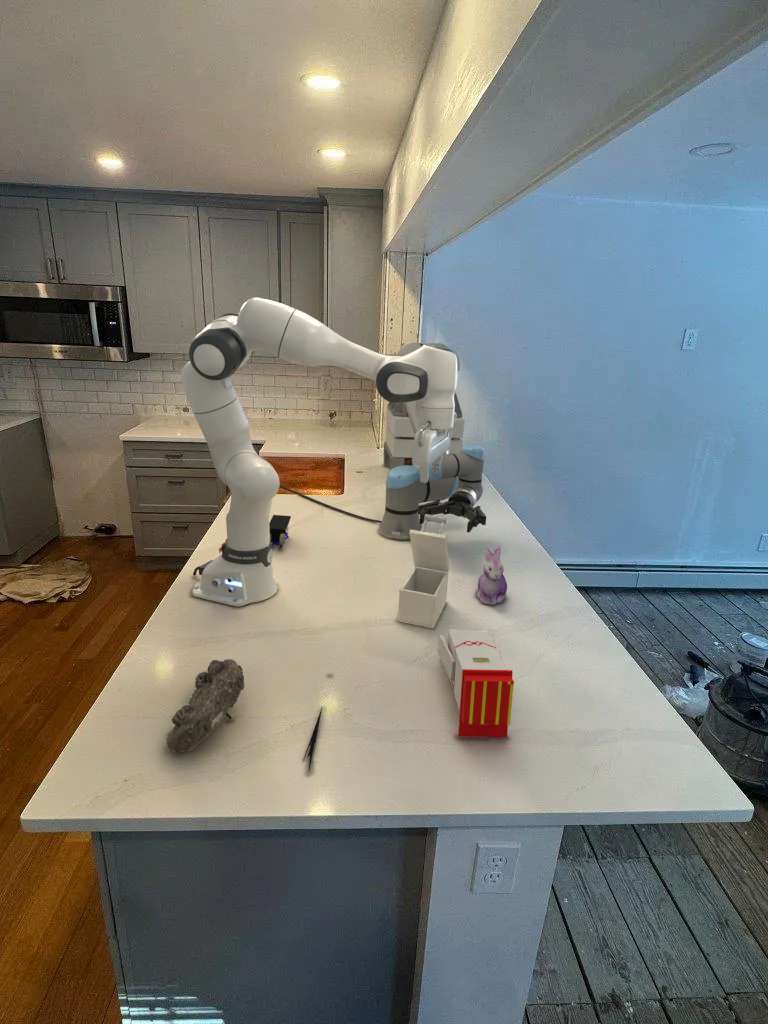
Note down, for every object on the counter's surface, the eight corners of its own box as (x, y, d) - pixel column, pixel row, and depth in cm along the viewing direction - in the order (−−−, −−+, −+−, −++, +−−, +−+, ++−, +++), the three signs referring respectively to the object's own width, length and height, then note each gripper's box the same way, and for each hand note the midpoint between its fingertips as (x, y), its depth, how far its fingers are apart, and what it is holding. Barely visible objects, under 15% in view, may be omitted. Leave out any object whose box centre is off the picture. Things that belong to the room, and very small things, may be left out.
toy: (488, 613, 130) (523, 677, 101) (484, 667, 133) (517, 744, 104) (435, 612, 130) (455, 676, 101) (432, 666, 133) (451, 743, 103)
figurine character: (285, 555, 182) (292, 533, 195) (285, 534, 178) (291, 513, 192) (264, 554, 181) (272, 532, 195) (263, 534, 178) (271, 512, 191)
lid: (445, 538, 139) (453, 512, 144) (409, 532, 142) (418, 506, 147) (448, 572, 151) (455, 547, 156) (414, 566, 153) (422, 541, 158)
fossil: (192, 660, 117) (244, 628, 112) (224, 691, 120) (276, 661, 115) (142, 746, 98) (202, 712, 93) (182, 779, 101) (242, 748, 96)
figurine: (489, 609, 152) (495, 558, 146) (466, 592, 160) (471, 543, 155) (516, 602, 156) (523, 552, 151) (493, 586, 164) (499, 538, 159)
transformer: (382, 463, 289) (386, 382, 275) (445, 464, 293) (451, 384, 279) (390, 482, 257) (394, 392, 243) (460, 483, 261) (468, 394, 247)
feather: (331, 679, 122) (336, 673, 122) (307, 777, 96) (313, 769, 95) (324, 675, 122) (329, 669, 121) (298, 772, 95) (304, 764, 95)
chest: (433, 628, 141) (436, 596, 138) (397, 621, 144) (399, 589, 141) (445, 602, 154) (448, 572, 151) (412, 596, 157) (414, 566, 154)
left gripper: (435, 427, 119) (430, 490, 124) (458, 413, 137) (453, 468, 142) (406, 424, 121) (403, 486, 126) (433, 410, 139) (429, 465, 144)
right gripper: (500, 519, 174) (487, 544, 155) (422, 507, 181) (401, 528, 163) (503, 496, 171) (490, 518, 152) (424, 484, 179) (402, 504, 160)
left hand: (430, 476), depth 134 cm, fingers open, 8 cm apart
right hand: (444, 523), depth 157 cm, fingers open, 13 cm apart
